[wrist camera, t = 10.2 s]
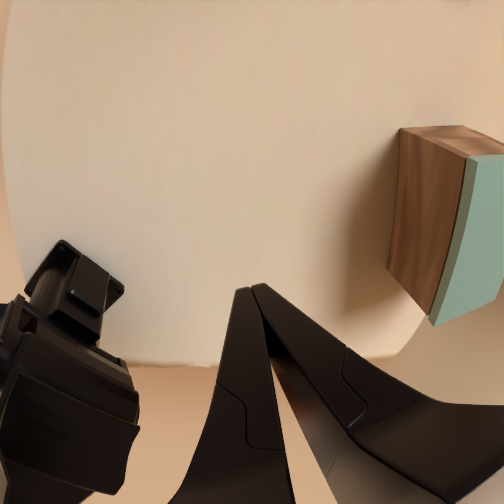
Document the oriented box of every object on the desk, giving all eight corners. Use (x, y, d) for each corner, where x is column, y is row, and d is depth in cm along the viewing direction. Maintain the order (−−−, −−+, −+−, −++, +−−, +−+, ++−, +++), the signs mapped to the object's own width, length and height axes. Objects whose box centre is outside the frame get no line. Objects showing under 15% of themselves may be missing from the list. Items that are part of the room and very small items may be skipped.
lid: (428, 318, 24) (433, 326, 23) (467, 156, 16) (477, 162, 15) (488, 293, 24) (494, 300, 24) (529, 153, 16) (538, 158, 15)
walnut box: (386, 269, 30) (427, 315, 24) (400, 128, 21) (464, 158, 16) (442, 249, 31) (483, 287, 25) (462, 125, 22) (520, 152, 17)
